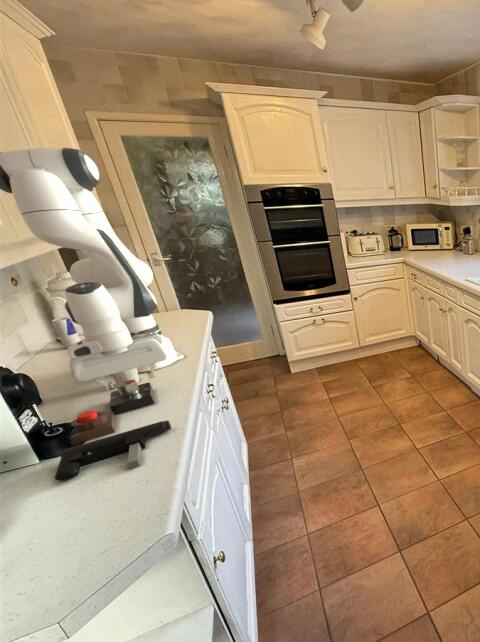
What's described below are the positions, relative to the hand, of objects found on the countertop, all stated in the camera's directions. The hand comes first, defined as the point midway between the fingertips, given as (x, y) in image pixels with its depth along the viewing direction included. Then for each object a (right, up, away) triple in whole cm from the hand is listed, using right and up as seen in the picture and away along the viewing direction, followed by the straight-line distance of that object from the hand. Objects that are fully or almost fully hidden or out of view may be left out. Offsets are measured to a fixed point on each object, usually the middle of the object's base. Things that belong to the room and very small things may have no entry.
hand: (132, 383), depth 117 cm
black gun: (+19, -16, -23) cm, 34 cm away
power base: (+2, -12, -12) cm, 17 cm away
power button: (+2, -8, -14) cm, 16 cm away
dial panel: (-1, -6, +1) cm, 6 cm away
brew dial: (-1, -3, 0) cm, 3 cm away
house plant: (-14, -2, +13) cm, 19 cm away
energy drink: (-72, +12, +49) cm, 87 cm away
